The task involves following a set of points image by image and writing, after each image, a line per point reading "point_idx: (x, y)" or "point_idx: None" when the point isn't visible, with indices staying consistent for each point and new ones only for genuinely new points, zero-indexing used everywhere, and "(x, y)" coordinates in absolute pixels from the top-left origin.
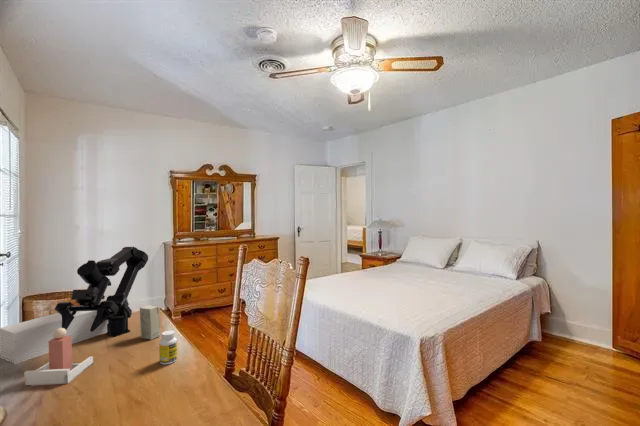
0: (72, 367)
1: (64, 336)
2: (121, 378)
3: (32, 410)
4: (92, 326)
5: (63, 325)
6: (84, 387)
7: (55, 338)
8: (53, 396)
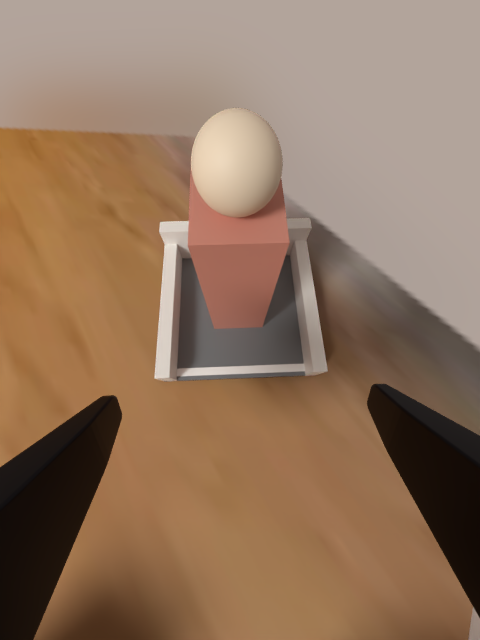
0: (223, 343)
1: (229, 231)
2: (14, 270)
3: (182, 159)
4: (78, 420)
5: (430, 421)
6: (110, 232)
7: (269, 203)
8: (171, 200)
